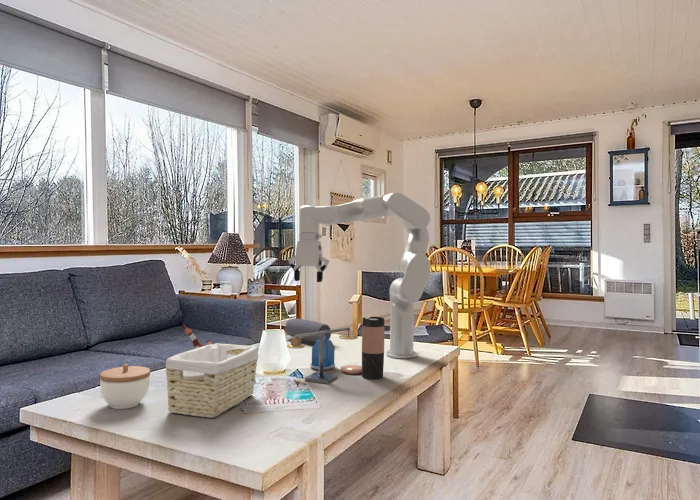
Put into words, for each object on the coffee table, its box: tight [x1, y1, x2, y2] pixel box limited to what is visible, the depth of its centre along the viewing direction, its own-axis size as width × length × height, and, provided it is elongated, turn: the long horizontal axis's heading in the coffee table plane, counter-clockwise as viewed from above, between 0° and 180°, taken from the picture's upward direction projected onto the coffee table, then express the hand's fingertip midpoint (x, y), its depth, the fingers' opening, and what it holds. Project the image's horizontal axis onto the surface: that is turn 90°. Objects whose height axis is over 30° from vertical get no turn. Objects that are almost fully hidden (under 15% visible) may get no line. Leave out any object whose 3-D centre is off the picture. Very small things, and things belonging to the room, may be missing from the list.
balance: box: [286, 326, 359, 385], centre depth 163 cm, size 8×25×18 cm, turn 68°
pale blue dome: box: [309, 362, 336, 371], centre depth 178 cm, size 9×9×1 cm
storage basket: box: [165, 342, 259, 419], centre depth 136 cm, size 24×16×15 cm
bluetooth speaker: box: [284, 318, 332, 345], centre depth 224 cm, size 23×9×10 cm, turn 46°
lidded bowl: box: [99, 363, 151, 410], centre depth 134 cm, size 13×13×11 cm
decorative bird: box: [182, 324, 213, 349], centre depth 164 cm, size 28×18×15 cm, turn 5°
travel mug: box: [361, 316, 385, 381], centre depth 167 cm, size 8×8×20 cm
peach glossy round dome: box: [340, 364, 362, 375], centre depth 173 cm, size 9×9×1 cm
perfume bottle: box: [311, 331, 336, 367], centre depth 178 cm, size 6×6×12 cm
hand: (308, 281), depth 191 cm, fingers open, 9 cm apart
